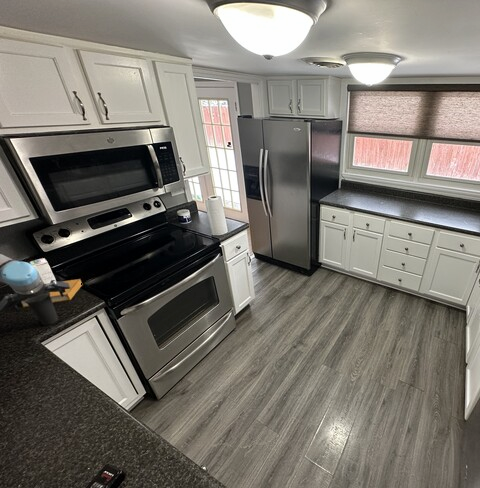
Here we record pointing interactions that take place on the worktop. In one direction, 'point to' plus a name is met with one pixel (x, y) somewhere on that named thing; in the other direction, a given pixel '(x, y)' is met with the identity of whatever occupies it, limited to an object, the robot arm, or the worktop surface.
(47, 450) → the worktop surface
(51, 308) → the drinking cup
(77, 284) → the book
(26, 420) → the worktop surface
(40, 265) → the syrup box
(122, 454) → the worktop surface
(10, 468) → the worktop surface
